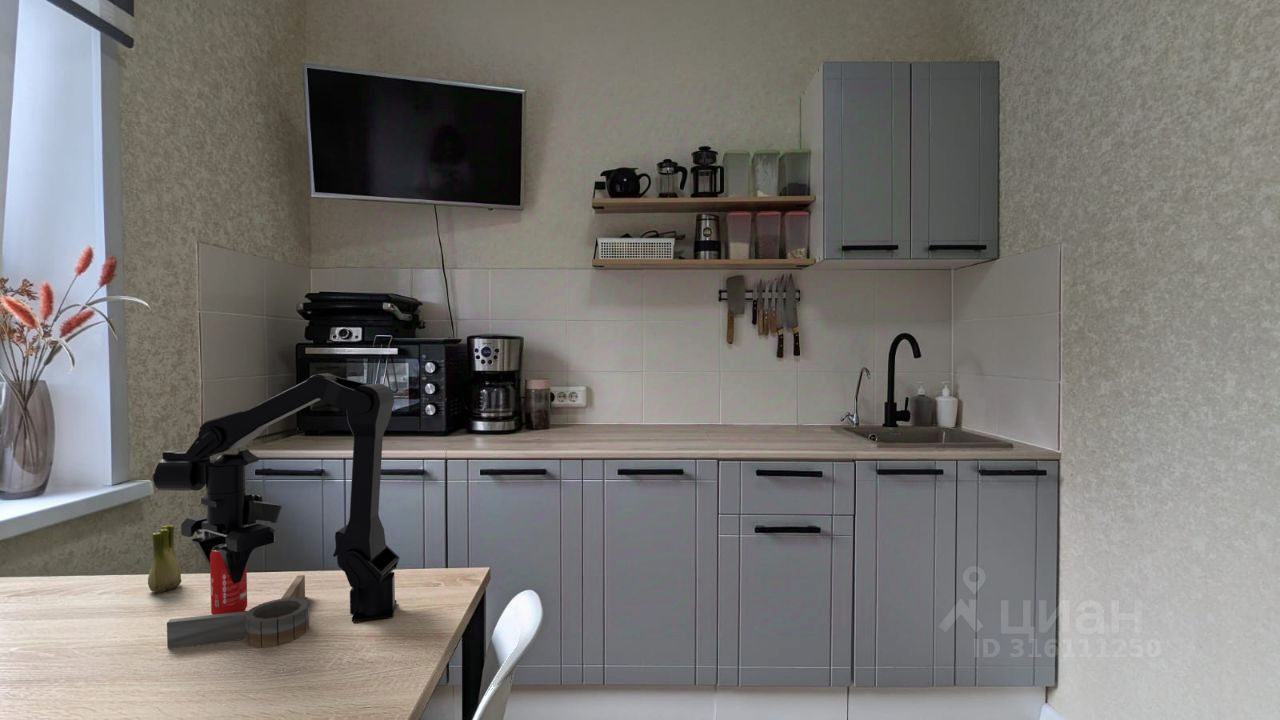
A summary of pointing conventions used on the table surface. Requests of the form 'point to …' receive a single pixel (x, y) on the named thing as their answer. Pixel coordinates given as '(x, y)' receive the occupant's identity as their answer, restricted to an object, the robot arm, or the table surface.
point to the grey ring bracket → (247, 623)
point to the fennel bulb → (164, 562)
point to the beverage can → (225, 586)
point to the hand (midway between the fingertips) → (228, 580)
